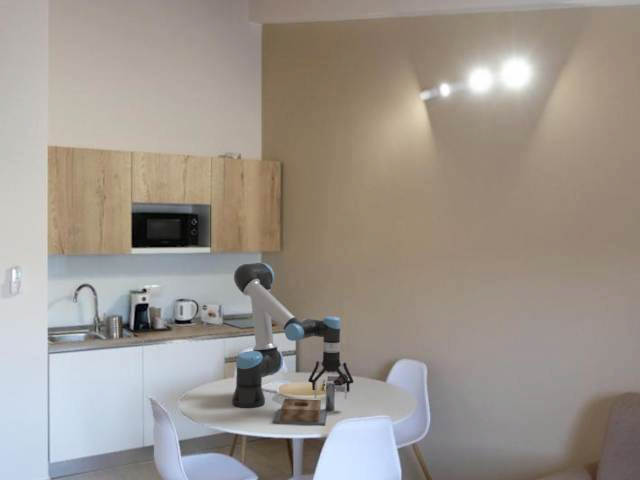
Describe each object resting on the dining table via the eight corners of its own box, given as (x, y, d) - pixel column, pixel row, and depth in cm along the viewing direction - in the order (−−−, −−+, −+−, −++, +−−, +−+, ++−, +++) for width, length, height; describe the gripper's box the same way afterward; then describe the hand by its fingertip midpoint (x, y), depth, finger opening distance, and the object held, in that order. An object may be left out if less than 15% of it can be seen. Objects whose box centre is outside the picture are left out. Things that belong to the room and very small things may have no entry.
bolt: (333, 393, 344) (342, 385, 358) (342, 389, 342) (350, 381, 356) (328, 382, 344) (336, 375, 358) (336, 378, 343) (344, 371, 357)
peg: (325, 411, 304) (325, 384, 304) (325, 408, 308) (326, 382, 308) (334, 411, 304) (334, 385, 303) (334, 408, 308) (335, 382, 307)
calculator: (255, 390, 339) (255, 386, 339) (278, 382, 356) (278, 378, 356) (277, 394, 332) (277, 390, 332) (299, 386, 349) (299, 382, 349)
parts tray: (323, 390, 340) (323, 385, 340) (325, 380, 362) (325, 375, 362) (349, 391, 339) (349, 386, 339) (350, 381, 361) (350, 376, 361)
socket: (273, 423, 284) (273, 409, 284) (278, 410, 302) (278, 397, 302) (325, 425, 283) (325, 411, 283) (327, 413, 301) (327, 399, 301)
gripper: (303, 352, 302) (302, 399, 302) (359, 353, 301) (358, 400, 301) (304, 348, 309) (303, 394, 310) (359, 350, 308) (358, 396, 309)
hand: (330, 397), depth 306 cm, fingers open, 13 cm apart
